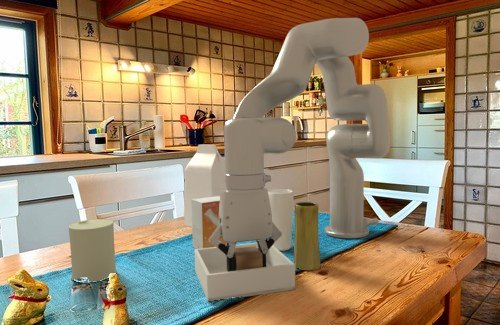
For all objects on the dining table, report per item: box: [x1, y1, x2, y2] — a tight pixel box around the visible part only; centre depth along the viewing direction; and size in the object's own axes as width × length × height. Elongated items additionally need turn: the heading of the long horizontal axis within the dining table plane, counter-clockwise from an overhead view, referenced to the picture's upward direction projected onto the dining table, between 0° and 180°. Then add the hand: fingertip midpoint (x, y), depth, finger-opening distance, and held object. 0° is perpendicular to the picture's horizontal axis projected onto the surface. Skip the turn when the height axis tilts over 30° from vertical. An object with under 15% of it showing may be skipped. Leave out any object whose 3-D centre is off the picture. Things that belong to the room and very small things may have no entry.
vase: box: [293, 201, 321, 271], centre depth 90 cm, size 6×6×14 cm
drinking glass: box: [268, 188, 295, 252], centre depth 103 cm, size 7×7×15 cm
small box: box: [191, 196, 226, 249], centre depth 105 cm, size 8×6×13 cm
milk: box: [183, 144, 226, 228], centre depth 129 cm, size 12×12×26 cm
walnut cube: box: [234, 246, 263, 271], centre depth 79 cm, size 5×5×5 cm
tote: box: [194, 242, 296, 303], centre depth 83 cm, size 17×16×5 cm
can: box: [68, 218, 117, 282], centre depth 87 cm, size 9×9×12 cm
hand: (246, 272), depth 79 cm, fingers closed on walnut cube, 5 cm apart
